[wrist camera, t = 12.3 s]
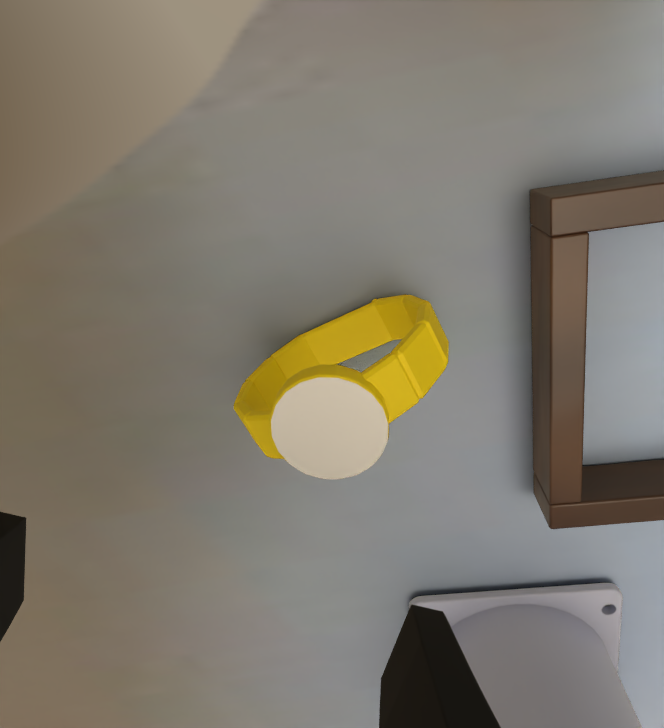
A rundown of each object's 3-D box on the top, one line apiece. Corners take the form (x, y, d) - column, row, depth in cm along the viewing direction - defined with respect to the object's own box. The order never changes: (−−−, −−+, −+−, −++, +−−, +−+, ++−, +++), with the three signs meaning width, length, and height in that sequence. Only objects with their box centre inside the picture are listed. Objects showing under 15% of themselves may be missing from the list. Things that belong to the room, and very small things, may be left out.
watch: (410, 255, 17) (432, 319, 12) (446, 332, 18) (483, 425, 13) (242, 338, 19) (192, 431, 13) (284, 406, 20) (253, 519, 14)
